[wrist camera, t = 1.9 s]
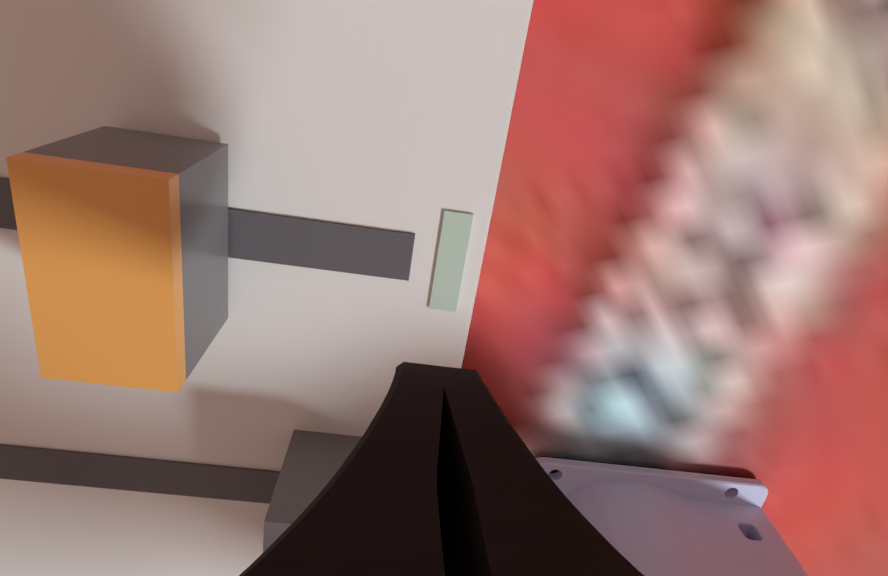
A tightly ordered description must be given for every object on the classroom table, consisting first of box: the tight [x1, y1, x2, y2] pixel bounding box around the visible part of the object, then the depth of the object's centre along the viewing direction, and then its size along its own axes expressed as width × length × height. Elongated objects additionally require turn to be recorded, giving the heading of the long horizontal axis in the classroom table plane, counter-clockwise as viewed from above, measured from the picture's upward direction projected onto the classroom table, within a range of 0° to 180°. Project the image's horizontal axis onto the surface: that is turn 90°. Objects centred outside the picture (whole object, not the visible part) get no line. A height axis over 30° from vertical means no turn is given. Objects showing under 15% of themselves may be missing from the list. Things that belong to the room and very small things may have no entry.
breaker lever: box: [6, 126, 228, 392], centre depth 14 cm, size 3×5×4 cm, turn 171°
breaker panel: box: [0, 0, 533, 576], centre depth 17 cm, size 17×22×6 cm
